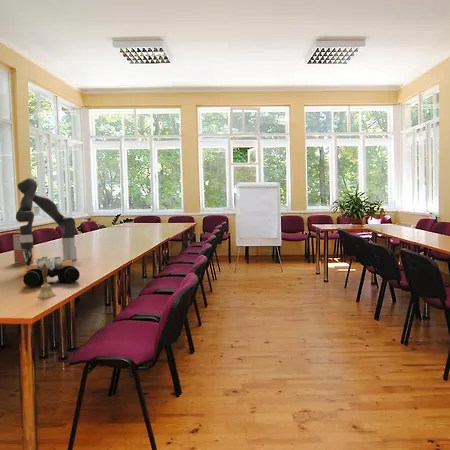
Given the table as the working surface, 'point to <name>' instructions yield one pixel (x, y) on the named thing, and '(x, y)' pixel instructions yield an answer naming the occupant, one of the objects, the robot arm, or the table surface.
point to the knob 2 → (61, 262)
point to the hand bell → (45, 285)
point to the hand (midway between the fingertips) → (28, 267)
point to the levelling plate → (49, 263)
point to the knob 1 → (35, 265)
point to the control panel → (19, 250)
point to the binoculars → (51, 275)
